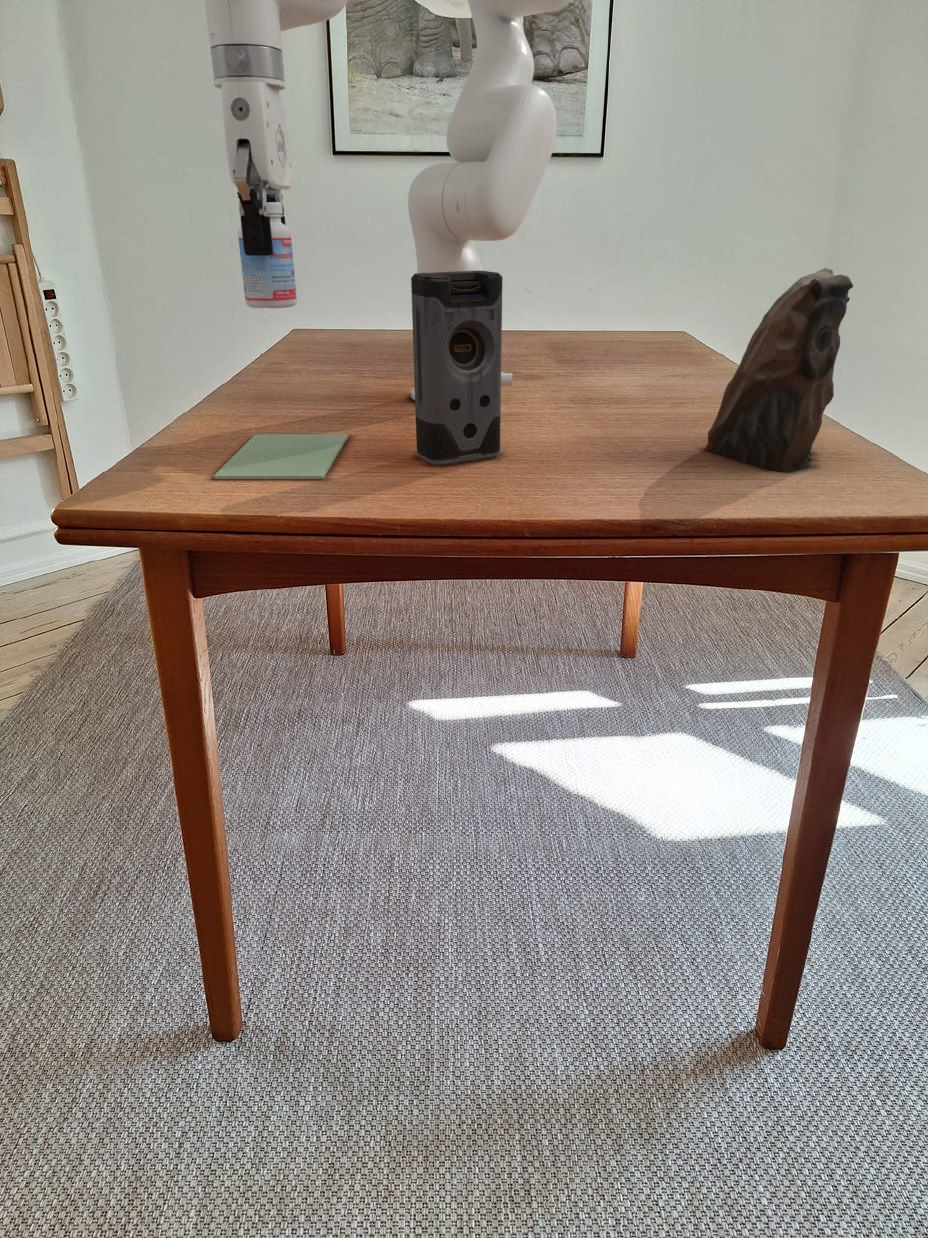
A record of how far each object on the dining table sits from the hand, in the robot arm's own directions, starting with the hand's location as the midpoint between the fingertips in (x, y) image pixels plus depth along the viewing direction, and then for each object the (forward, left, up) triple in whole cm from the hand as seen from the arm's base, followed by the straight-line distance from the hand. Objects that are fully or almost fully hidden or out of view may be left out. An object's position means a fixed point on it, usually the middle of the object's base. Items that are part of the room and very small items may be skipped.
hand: (266, 252), depth 96 cm
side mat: (-2, +10, -22) cm, 24 cm away
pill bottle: (0, 0, -6) cm, 6 cm away
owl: (-59, +9, -22) cm, 63 cm away
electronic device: (-23, +10, -22) cm, 33 cm away
